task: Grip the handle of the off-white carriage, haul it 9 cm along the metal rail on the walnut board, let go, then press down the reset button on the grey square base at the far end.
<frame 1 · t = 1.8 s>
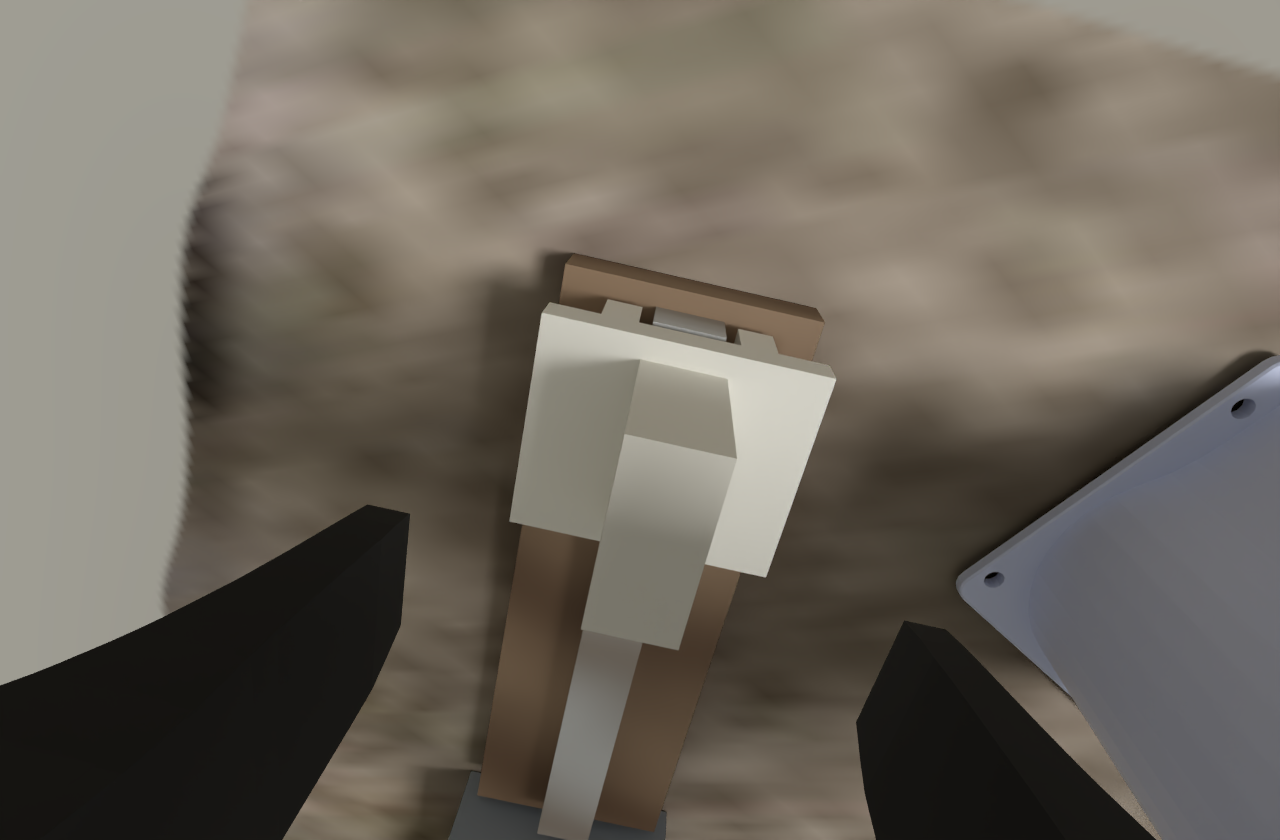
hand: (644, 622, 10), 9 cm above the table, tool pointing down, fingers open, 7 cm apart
rail board: (622, 576, 21), on the table
carriage: (660, 471, 14), point 4 cm above the table, slide at 0.0 cm
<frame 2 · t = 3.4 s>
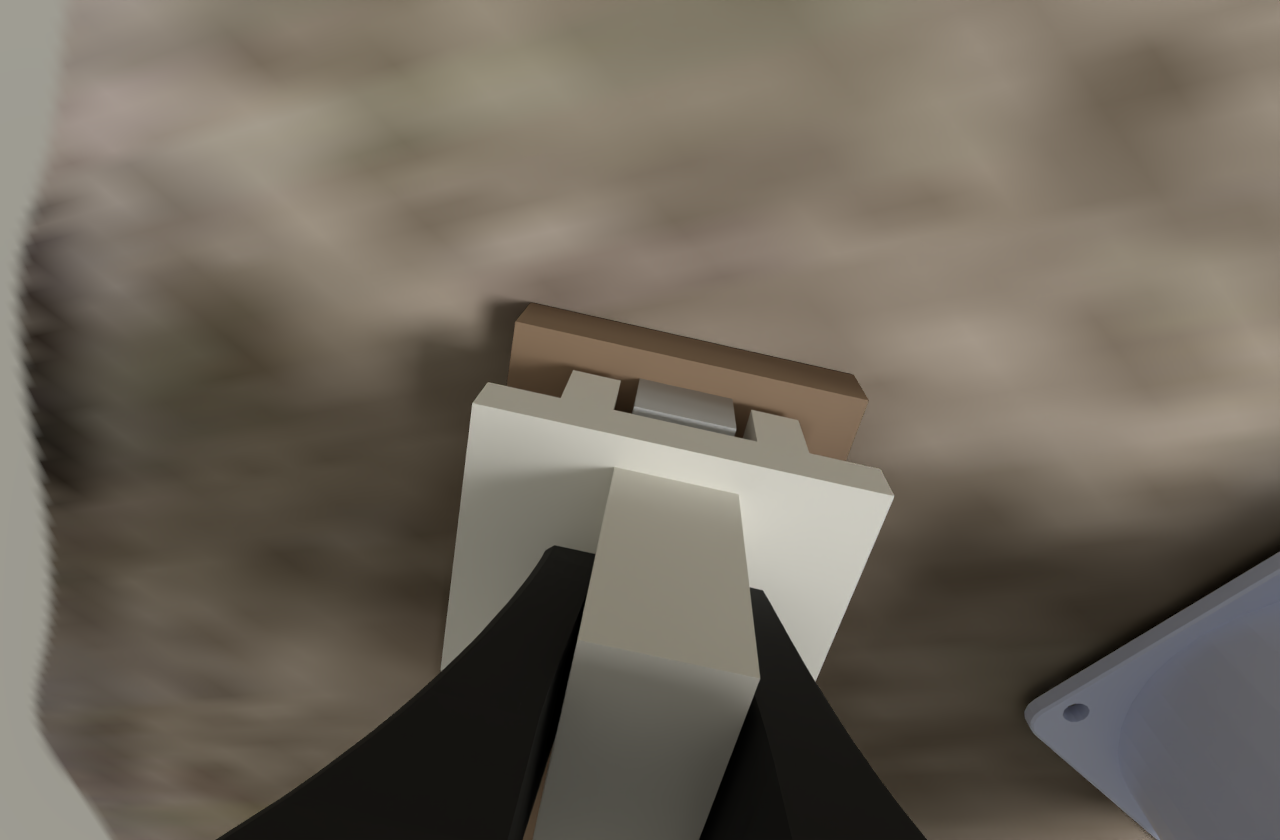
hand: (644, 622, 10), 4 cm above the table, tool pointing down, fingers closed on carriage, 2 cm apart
rail board: (601, 697, 16), on the table
carriage: (643, 624, 10), point 4 cm above the table, slide at 0.0 cm, touching gripper
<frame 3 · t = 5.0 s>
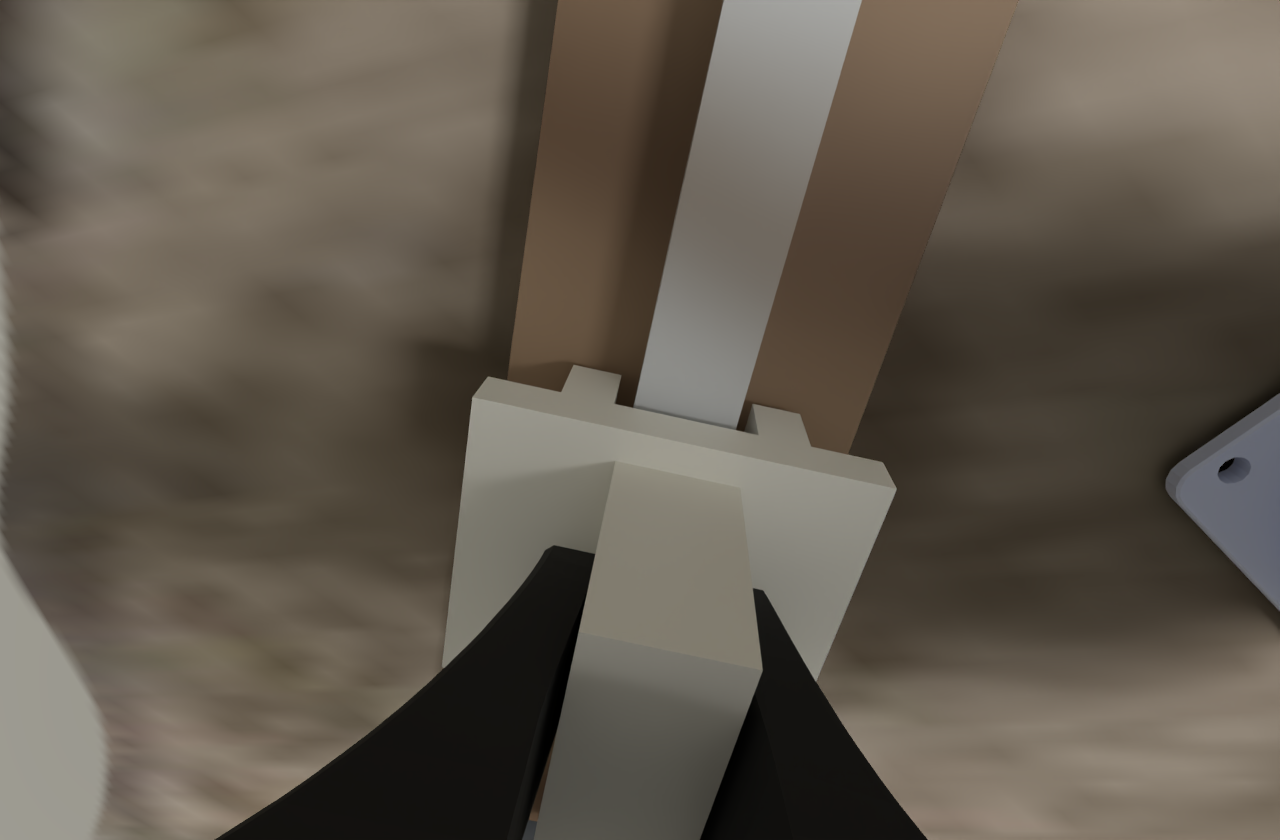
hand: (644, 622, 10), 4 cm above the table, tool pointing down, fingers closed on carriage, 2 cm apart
rail board: (657, 481, 14), on the table
carriage: (645, 619, 10), point 4 cm above the table, slide at 5.9 cm, touching gripper
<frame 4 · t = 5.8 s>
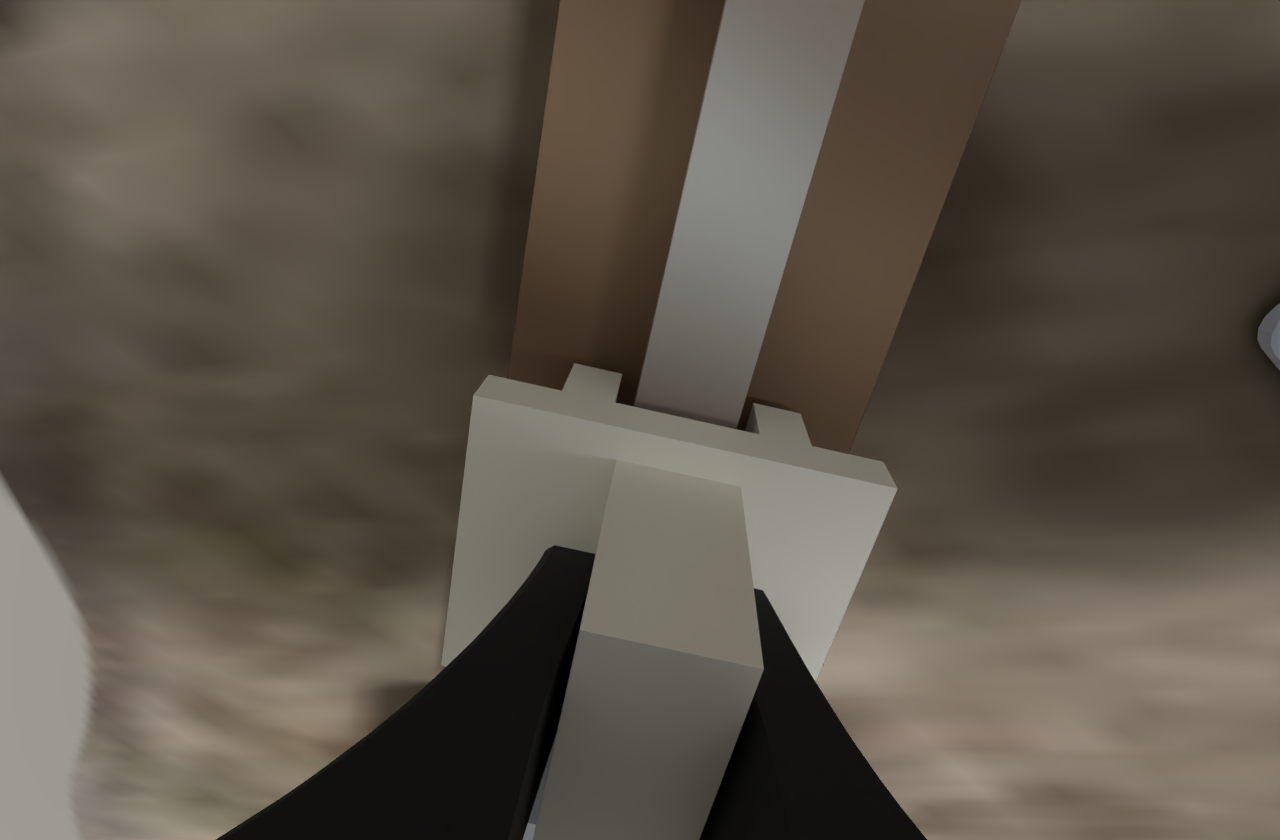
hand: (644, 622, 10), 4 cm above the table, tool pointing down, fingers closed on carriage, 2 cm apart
grey square base: (573, 810, 18), on the table
rail board: (692, 340, 13), on the table
carriage: (645, 617, 10), point 4 cm above the table, slide at 8.8 cm, touching gripper
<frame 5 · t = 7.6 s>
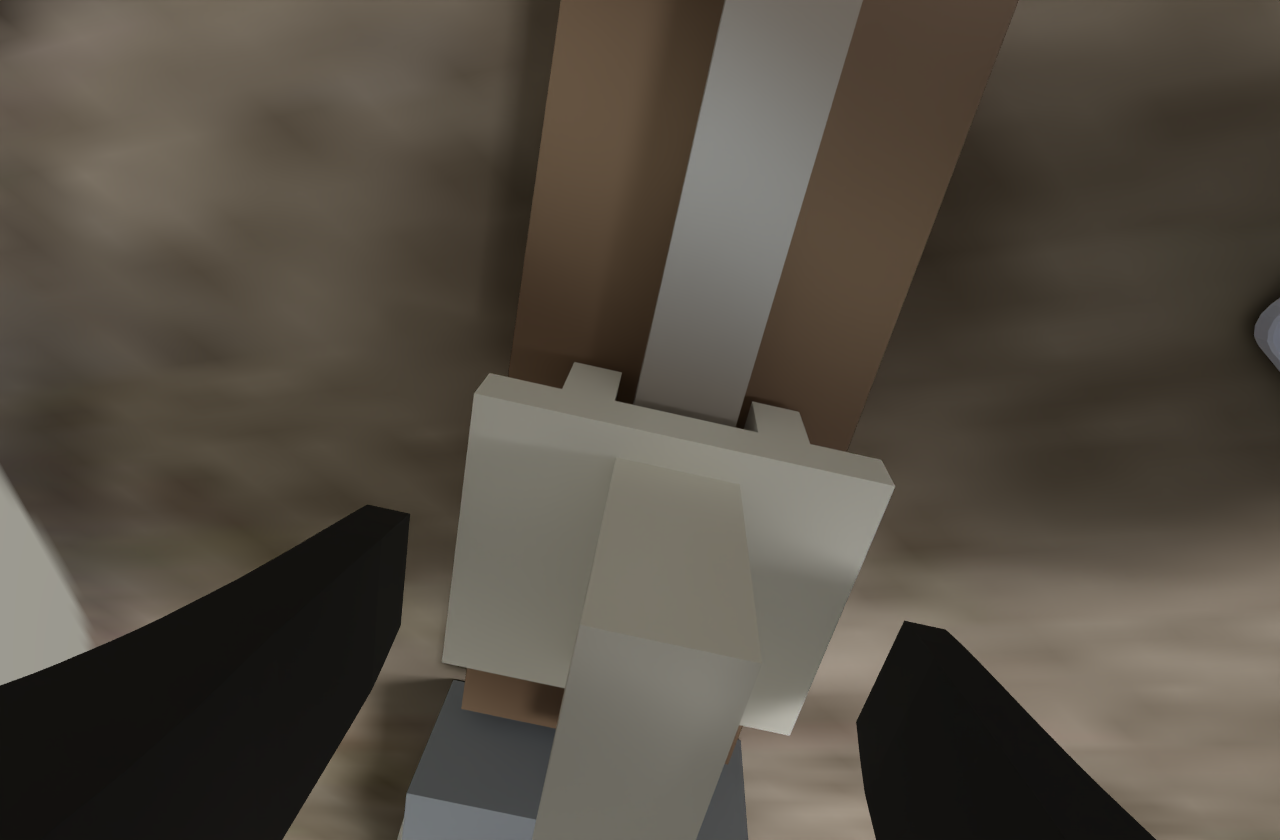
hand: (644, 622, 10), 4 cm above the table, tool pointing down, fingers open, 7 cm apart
grey square base: (573, 806, 18), on the table
rail board: (692, 337, 13), on the table
carriage: (645, 614, 10), point 4 cm above the table, slide at 8.9 cm
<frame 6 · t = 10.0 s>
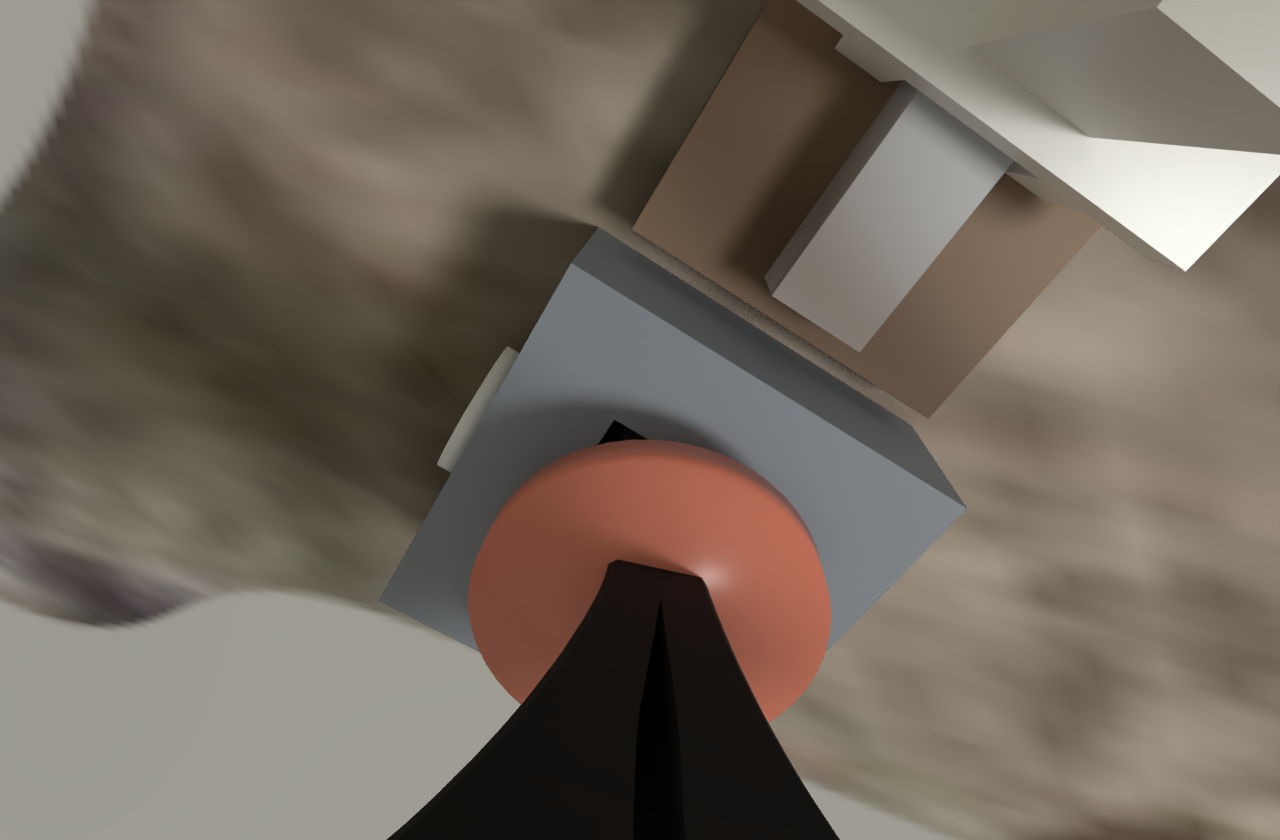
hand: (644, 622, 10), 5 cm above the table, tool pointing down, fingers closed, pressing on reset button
grey square base: (660, 470, 14), on the table
reset button: (652, 555, 12), point 3 cm above the table, slide at 0.9 cm, touching gripper
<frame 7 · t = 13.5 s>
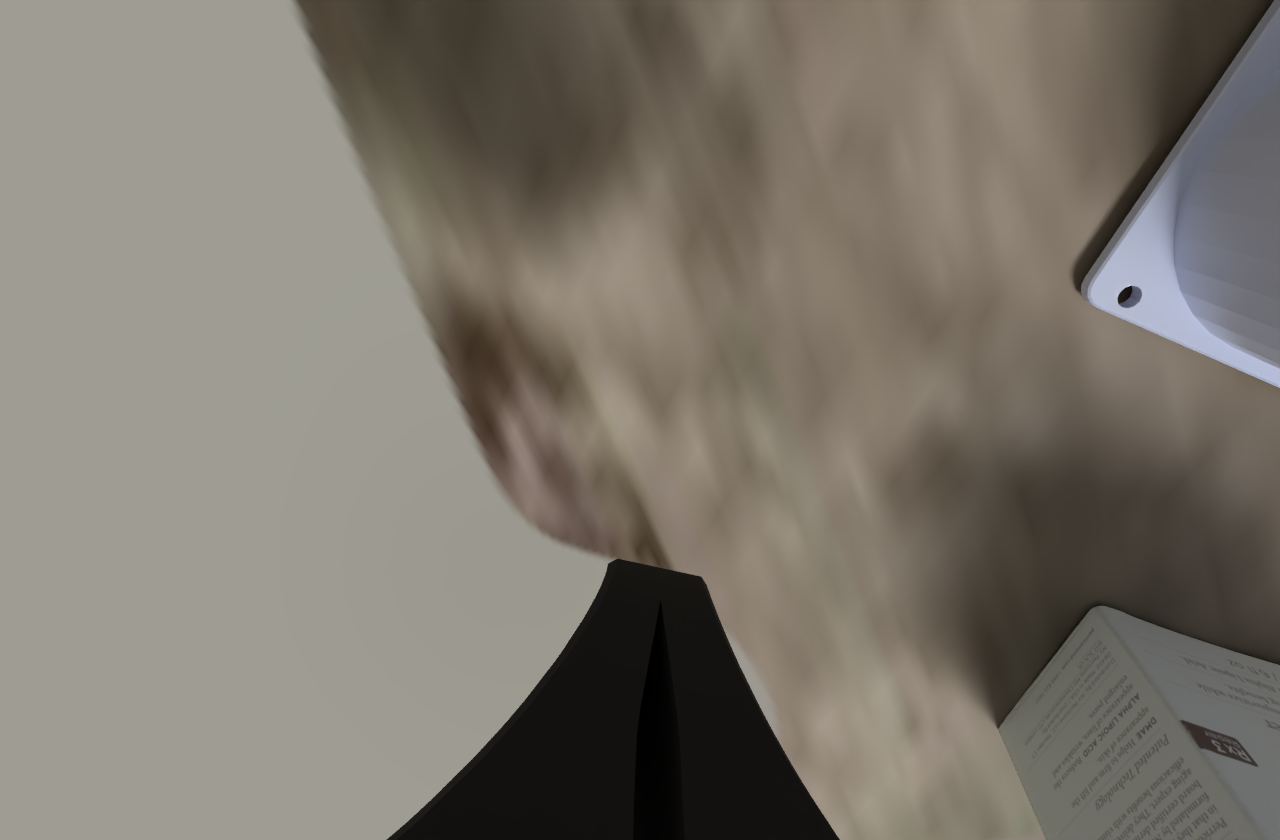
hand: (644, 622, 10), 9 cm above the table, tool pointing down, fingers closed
skincare box: (1142, 698, 22), on the table
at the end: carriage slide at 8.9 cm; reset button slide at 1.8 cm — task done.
